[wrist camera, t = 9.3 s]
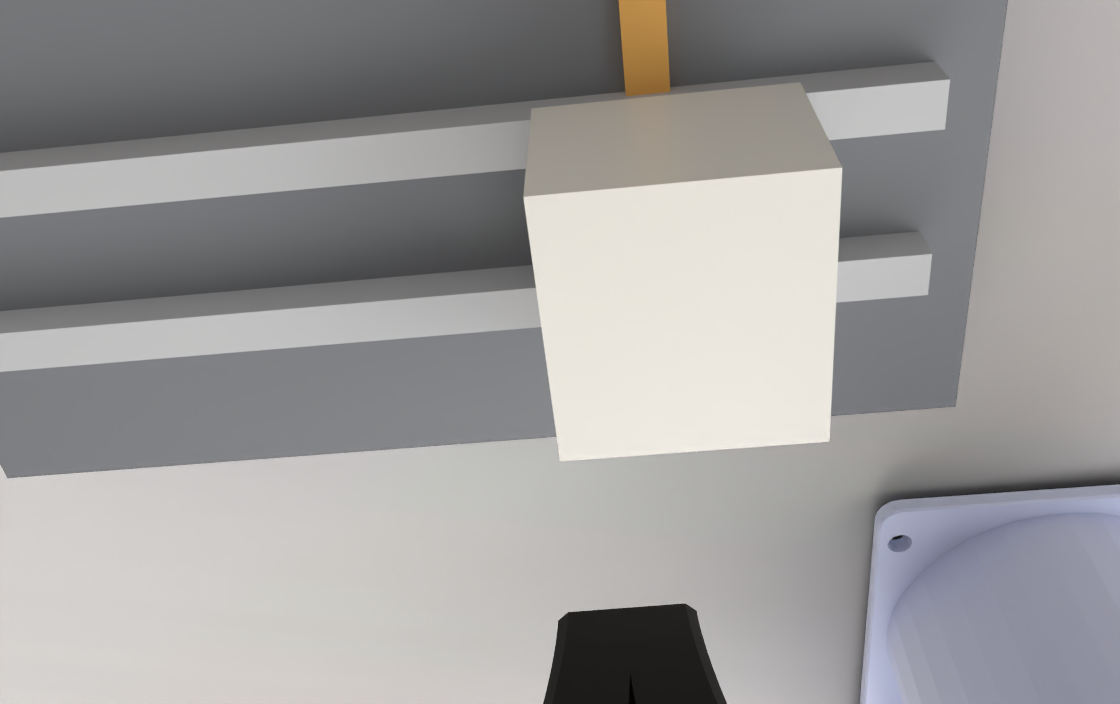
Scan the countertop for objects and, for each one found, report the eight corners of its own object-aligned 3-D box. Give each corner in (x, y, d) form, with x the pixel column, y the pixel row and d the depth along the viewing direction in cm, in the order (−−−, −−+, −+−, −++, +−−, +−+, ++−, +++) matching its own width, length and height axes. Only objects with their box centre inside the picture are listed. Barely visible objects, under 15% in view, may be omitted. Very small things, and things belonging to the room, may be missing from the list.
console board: (933, 361, 22) (967, 432, 20) (38, 432, 23) (-11, 504, 21) (993, -180, 16) (1049, -153, 14) (-195, -45, 17) (-290, -5, 15)
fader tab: (786, 305, 19) (829, 441, 16) (562, 324, 19) (560, 461, 16) (791, 63, 16) (842, 167, 13) (533, 89, 17) (523, 196, 13)
